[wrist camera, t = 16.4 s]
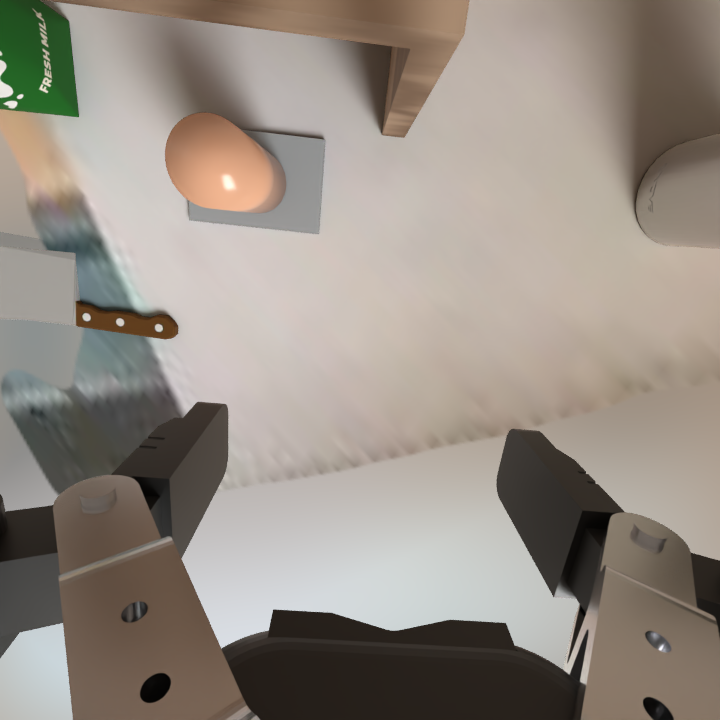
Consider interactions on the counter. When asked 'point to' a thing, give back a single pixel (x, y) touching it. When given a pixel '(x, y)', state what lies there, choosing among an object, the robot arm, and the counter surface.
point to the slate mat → (302, 187)
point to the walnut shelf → (344, 34)
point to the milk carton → (36, 59)
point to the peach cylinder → (222, 166)
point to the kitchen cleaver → (60, 292)
